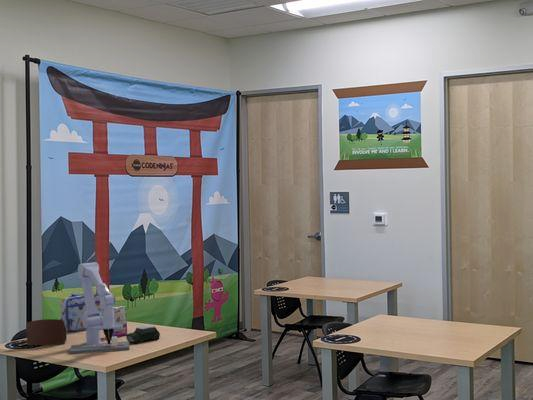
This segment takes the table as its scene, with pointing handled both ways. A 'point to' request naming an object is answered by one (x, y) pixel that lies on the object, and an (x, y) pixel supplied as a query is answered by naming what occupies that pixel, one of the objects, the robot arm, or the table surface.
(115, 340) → the fader knob
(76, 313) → the lunch box
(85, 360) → the table surface
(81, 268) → the robot arm
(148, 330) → the miniature car
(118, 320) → the candy bar box
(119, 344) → the console board
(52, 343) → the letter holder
